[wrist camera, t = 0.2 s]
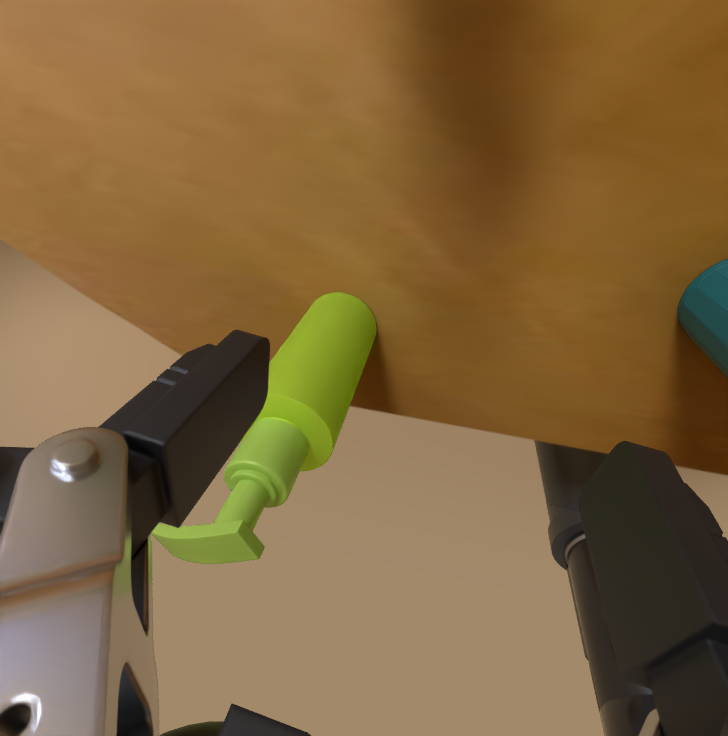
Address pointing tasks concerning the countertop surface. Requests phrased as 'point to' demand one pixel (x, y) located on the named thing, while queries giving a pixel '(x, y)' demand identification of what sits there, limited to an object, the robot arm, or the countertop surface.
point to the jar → (708, 313)
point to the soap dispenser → (285, 428)
